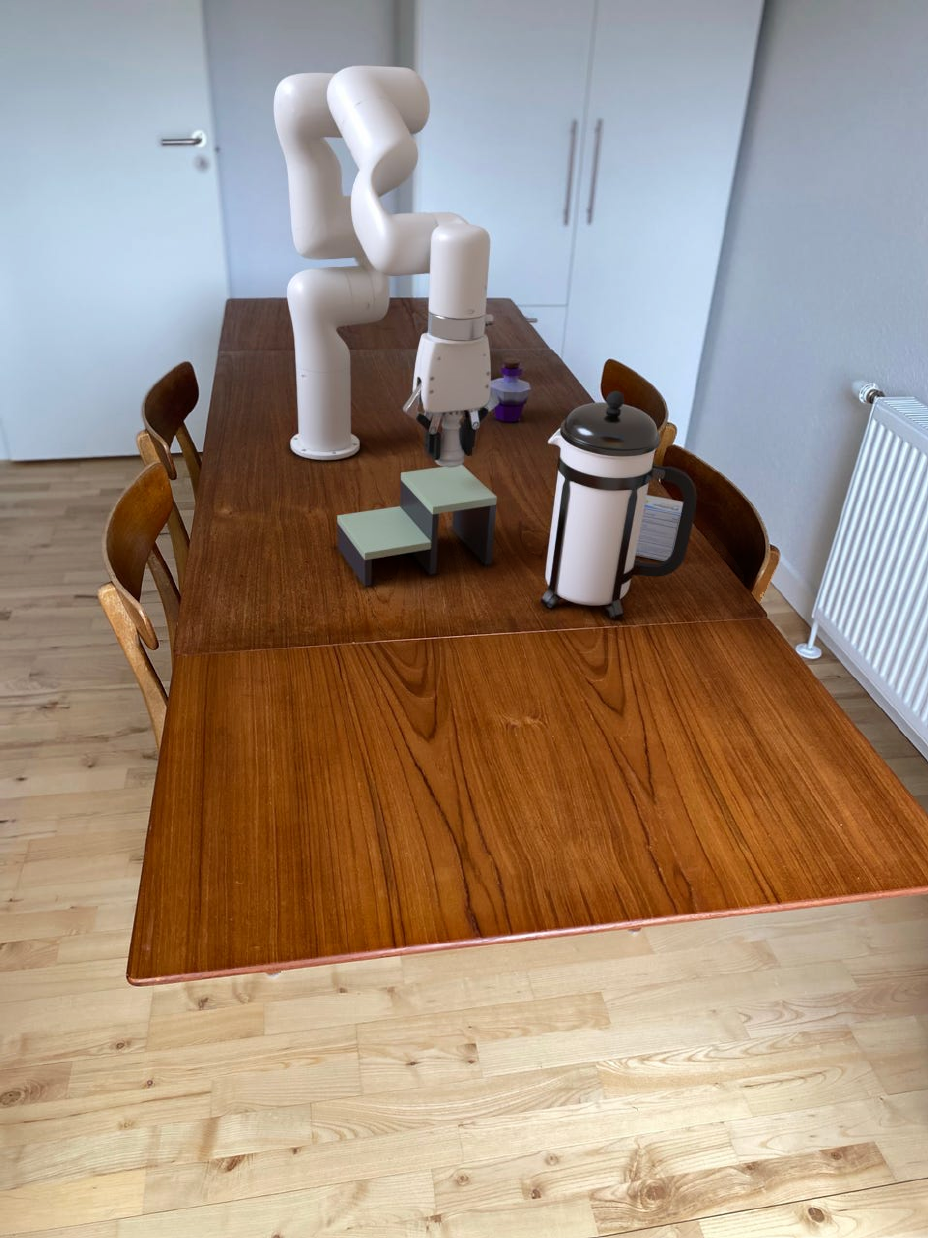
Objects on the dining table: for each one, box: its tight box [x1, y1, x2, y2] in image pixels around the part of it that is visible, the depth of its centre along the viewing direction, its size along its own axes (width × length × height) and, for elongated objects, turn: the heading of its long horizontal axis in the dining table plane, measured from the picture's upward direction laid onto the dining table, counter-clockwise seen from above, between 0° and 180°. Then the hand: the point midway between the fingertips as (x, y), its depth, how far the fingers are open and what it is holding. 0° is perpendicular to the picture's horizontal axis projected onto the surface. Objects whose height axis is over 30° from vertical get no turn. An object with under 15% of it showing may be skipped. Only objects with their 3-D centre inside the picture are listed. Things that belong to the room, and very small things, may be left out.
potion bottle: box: [491, 357, 532, 424], centre depth 186 cm, size 9×9×12 cm
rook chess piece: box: [434, 411, 465, 468], centre depth 130 cm, size 4×4×8 cm
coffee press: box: [540, 390, 697, 621], centre depth 124 cm, size 17×16×30 cm
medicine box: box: [635, 494, 683, 562], centre depth 142 cm, size 8×4×9 cm, turn 71°
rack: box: [336, 464, 498, 588], centre depth 136 cm, size 12×20×11 cm, turn 115°
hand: (449, 453), depth 132 cm, fingers closed on rook chess piece, 4 cm apart
